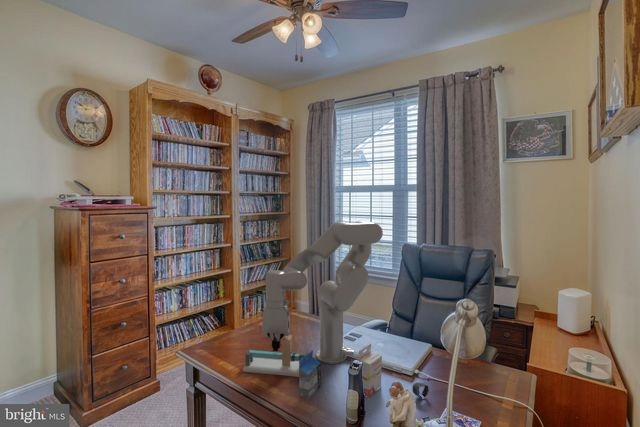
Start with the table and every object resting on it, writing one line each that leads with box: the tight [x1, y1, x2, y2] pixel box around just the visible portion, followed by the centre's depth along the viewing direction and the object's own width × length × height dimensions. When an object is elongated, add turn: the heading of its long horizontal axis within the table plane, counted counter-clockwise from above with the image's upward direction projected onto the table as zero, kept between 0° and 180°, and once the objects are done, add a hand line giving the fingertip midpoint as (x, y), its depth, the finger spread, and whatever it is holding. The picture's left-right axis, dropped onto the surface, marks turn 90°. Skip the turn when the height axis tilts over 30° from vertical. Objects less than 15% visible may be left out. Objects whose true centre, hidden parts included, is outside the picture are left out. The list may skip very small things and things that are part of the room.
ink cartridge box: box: [357, 343, 383, 398], centre depth 113 cm, size 9×5×15 cm, turn 141°
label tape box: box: [298, 350, 322, 400], centre depth 112 cm, size 9×4×12 cm, turn 151°
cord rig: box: [242, 349, 309, 377], centre depth 127 cm, size 24×9×7 cm, turn 81°
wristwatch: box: [412, 382, 430, 399], centre depth 108 cm, size 3×5×5 cm, turn 103°
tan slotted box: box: [281, 334, 294, 367], centre depth 126 cm, size 3×4×10 cm
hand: (276, 349), depth 127 cm, fingers closed
